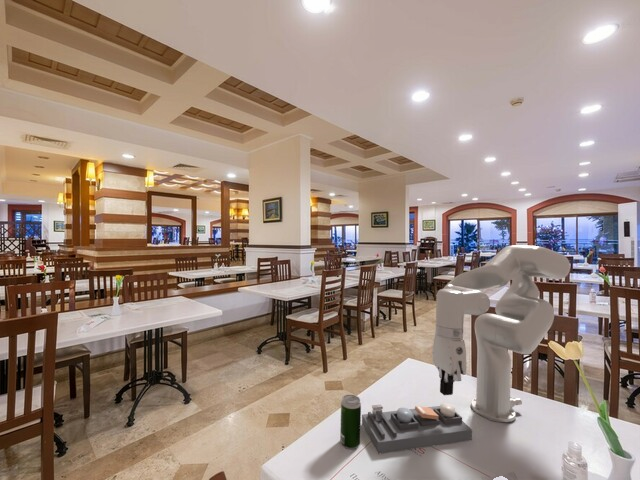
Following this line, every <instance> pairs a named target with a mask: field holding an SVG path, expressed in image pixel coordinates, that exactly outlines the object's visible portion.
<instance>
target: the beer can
mask: <svg viewBox="0 0 640 480" xmlns="http://www.w3.org/2000/svg"><path fill="white" fill-rule="evenodd" d="M361 425H362V402H361V399H360V397H359V396H357V395H356V394H355V395H354V394H345V395H343V396H342V399H341V402H340V428H339V430H340V434H339V435H340V437H339V438H340V439H339V441H340V444H341V446H342V448H344V449H346V450H350V451H353V450H356V449H357V448H359V446H360V444H361Z"/></svg>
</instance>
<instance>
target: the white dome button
mask: <svg viewBox="0 0 640 480" xmlns="http://www.w3.org/2000/svg"><path fill="white" fill-rule="evenodd" d="M439 406H440V413H441V414H442V415H443V416H445V417H449V418H453V417H454V416H455V412H456V407H455V406H454V405H453V404H450V403H448V402H442V403H440V405H439Z"/></svg>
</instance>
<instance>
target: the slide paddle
mask: <svg viewBox="0 0 640 480" xmlns="http://www.w3.org/2000/svg"><path fill="white" fill-rule="evenodd" d="M371 408H372V412H371V413H372V415H373V417H374V418H375V420H376V421H382V412H383V409H384V406H383V405H382V404H375V405H371Z"/></svg>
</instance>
